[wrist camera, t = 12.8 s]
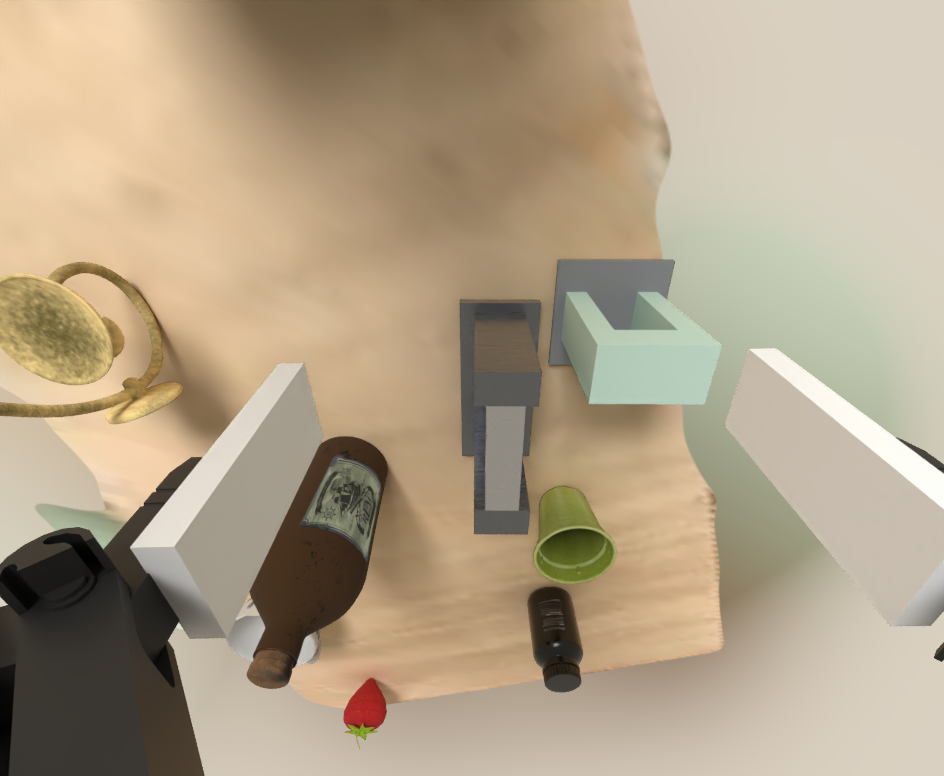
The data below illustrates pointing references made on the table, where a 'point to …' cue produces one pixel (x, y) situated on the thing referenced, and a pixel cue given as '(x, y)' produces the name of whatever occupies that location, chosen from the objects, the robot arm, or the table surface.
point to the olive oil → (317, 554)
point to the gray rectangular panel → (605, 291)
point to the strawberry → (365, 710)
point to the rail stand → (499, 406)
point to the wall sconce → (75, 344)
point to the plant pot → (571, 539)
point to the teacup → (251, 630)
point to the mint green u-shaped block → (639, 353)
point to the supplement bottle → (555, 638)
